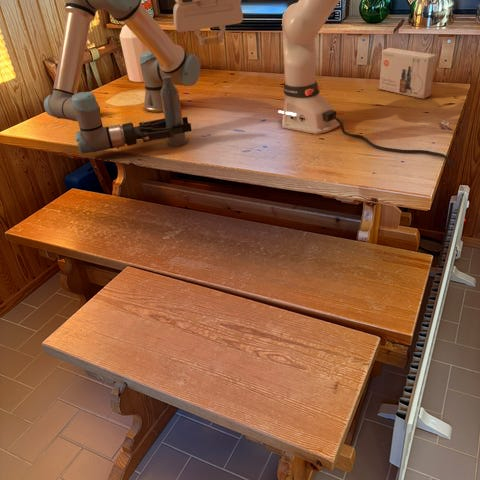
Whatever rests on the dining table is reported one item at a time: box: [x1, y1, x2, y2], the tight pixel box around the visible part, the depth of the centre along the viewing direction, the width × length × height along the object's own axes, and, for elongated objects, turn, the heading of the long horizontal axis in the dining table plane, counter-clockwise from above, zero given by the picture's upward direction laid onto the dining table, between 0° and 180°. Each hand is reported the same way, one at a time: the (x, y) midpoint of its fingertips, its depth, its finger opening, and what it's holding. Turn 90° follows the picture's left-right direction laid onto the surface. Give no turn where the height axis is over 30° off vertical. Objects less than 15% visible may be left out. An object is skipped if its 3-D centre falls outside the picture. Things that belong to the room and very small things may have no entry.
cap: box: [204, 35, 218, 45], centre depth 138 cm, size 4×4×2 cm
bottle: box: [160, 76, 187, 147], centre depth 159 cm, size 6×6×23 cm
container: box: [119, 23, 149, 83], centre depth 235 cm, size 21×21×28 cm
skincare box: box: [378, 47, 437, 100], centre depth 184 cm, size 21×6×16 cm, turn 40°
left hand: (189, 123), depth 163 cm, fingers closed on bottle, 6 cm apart
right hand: (211, 43), depth 139 cm, fingers closed on cap, 4 cm apart
